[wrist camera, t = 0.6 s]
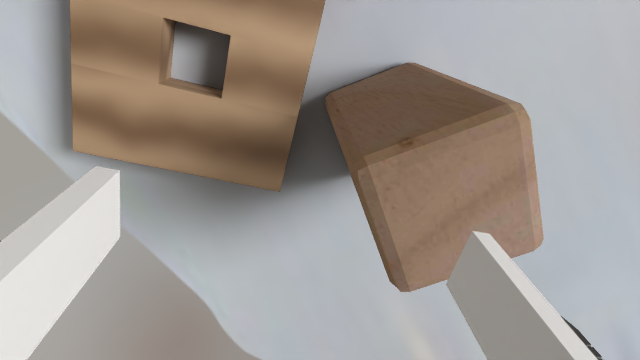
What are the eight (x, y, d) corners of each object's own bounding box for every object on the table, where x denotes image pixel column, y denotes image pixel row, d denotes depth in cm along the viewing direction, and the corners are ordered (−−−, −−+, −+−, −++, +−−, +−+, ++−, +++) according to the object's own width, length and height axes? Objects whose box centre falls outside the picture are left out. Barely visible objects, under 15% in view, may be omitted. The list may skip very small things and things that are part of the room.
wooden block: (320, 93, 37) (348, 169, 19) (413, 57, 36) (537, 100, 18) (351, 175, 41) (397, 303, 23) (434, 145, 40) (552, 252, 22)
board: (92, -117, 28) (67, -134, 25) (332, -41, 32) (336, -47, 29) (91, 139, 37) (72, 150, 34) (280, 177, 40) (279, 191, 37)
